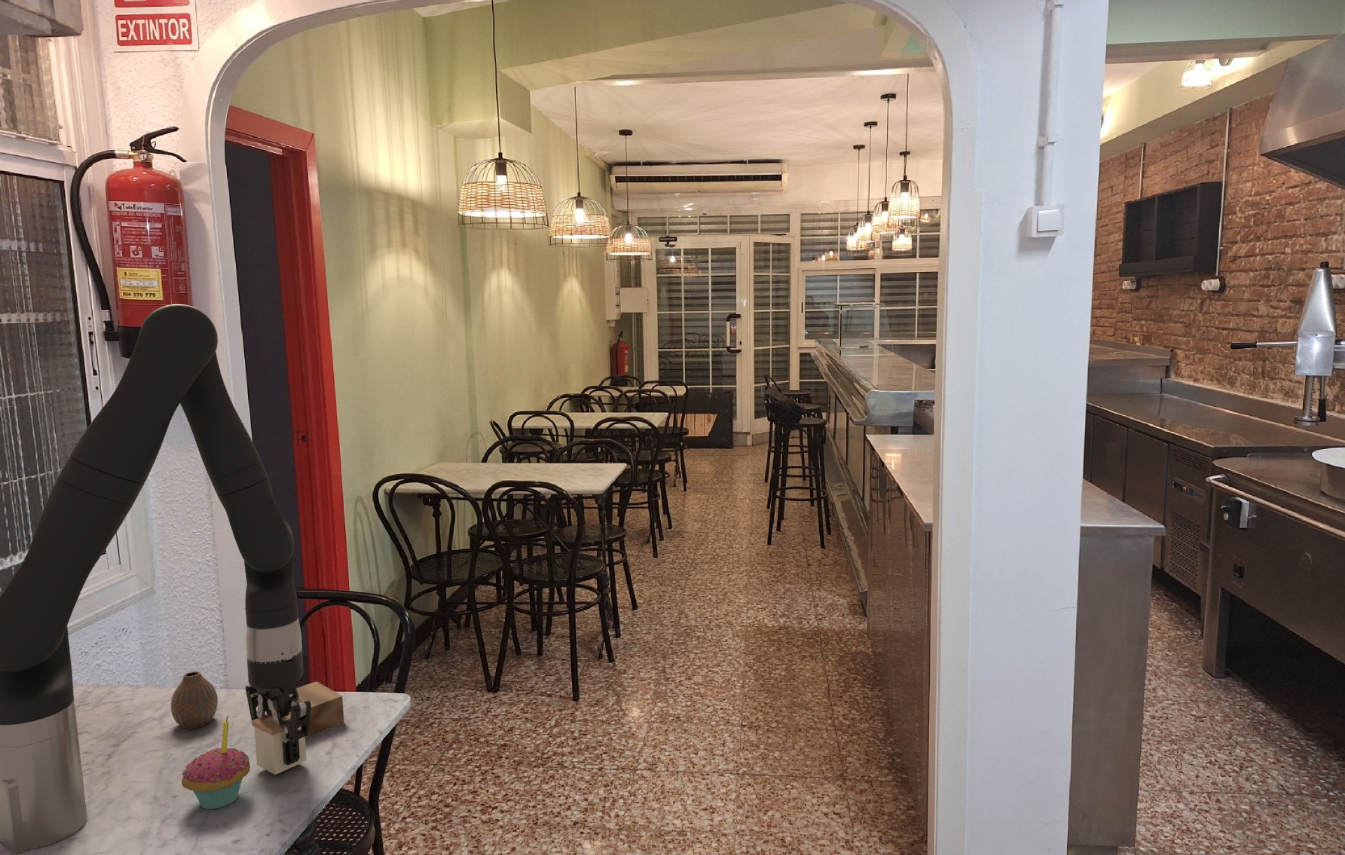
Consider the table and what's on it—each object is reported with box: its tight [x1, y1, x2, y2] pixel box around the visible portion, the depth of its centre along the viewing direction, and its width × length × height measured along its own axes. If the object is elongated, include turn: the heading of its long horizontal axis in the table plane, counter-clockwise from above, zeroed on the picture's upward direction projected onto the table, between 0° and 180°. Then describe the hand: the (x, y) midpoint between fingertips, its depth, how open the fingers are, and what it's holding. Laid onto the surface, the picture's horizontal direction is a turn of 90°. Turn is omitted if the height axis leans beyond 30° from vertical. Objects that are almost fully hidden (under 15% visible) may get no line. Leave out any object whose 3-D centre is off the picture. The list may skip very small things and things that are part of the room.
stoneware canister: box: [251, 715, 307, 776], centre depth 130 cm, size 5×5×7 cm
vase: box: [170, 670, 219, 730], centre depth 145 cm, size 7×7×9 cm
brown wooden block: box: [296, 681, 345, 739], centre depth 145 cm, size 9×9×5 cm
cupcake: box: [181, 715, 251, 810], centre depth 122 cm, size 9×8×12 cm
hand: (281, 756), depth 131 cm, fingers closed on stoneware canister, 5 cm apart
